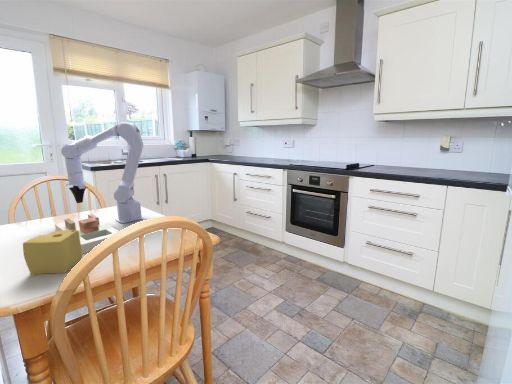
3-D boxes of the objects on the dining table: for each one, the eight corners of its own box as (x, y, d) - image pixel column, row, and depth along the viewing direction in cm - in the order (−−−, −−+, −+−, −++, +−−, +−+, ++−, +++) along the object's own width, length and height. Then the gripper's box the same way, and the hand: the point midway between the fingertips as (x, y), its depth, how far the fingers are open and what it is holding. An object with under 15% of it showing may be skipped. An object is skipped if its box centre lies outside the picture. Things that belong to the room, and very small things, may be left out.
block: (94, 227, 111) (92, 217, 110) (98, 230, 108) (97, 220, 107) (80, 230, 108) (78, 220, 107) (84, 233, 104) (82, 223, 104)
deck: (93, 222, 126) (91, 210, 125) (124, 241, 105) (122, 225, 103) (56, 231, 116) (53, 217, 115) (82, 253, 95) (79, 236, 93)
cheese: (50, 259, 90) (44, 230, 88) (85, 258, 91) (80, 228, 89) (27, 276, 80) (20, 243, 78) (66, 273, 81) (61, 241, 79)
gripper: (59, 172, 124) (64, 201, 127) (69, 175, 114) (74, 207, 117) (77, 170, 129) (82, 198, 132) (88, 173, 119) (92, 203, 122)
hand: (79, 202), depth 125 cm, fingers closed
